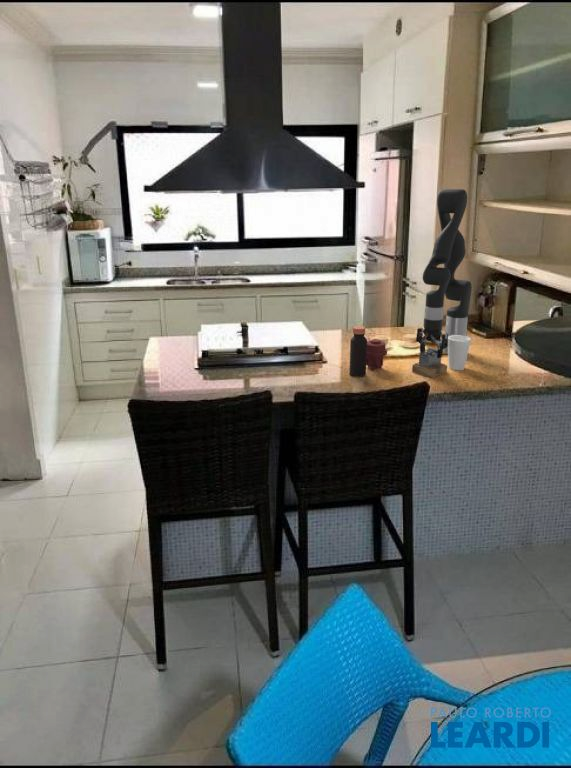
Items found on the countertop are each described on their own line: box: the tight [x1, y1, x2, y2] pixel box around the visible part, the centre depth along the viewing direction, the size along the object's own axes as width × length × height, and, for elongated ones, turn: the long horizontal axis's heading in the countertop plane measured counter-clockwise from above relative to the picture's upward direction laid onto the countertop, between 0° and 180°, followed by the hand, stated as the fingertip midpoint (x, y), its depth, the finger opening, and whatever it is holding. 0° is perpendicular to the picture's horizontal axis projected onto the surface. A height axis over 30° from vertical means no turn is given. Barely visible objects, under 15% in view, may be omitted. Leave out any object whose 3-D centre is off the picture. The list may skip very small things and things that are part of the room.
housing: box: [418, 347, 442, 368], centre depth 248 cm, size 8×5×6 cm, turn 128°
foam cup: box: [447, 335, 472, 371], centre depth 252 cm, size 10×9×13 cm
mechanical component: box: [366, 338, 388, 372], centre depth 253 cm, size 12×10×10 cm
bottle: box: [349, 325, 368, 378], centre depth 244 cm, size 7×7×20 cm
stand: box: [412, 361, 448, 378], centre depth 249 cm, size 10×10×4 cm
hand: (430, 355), depth 247 cm, fingers open, 8 cm apart
